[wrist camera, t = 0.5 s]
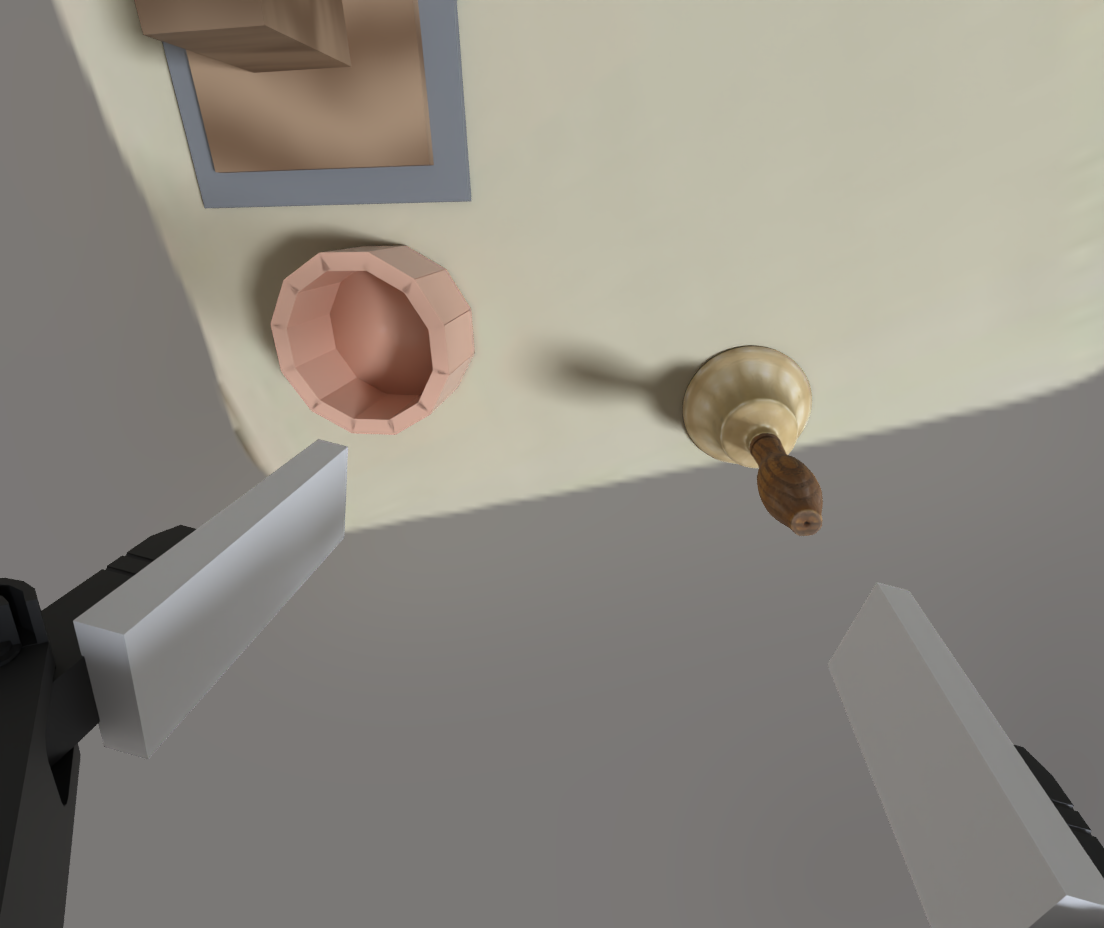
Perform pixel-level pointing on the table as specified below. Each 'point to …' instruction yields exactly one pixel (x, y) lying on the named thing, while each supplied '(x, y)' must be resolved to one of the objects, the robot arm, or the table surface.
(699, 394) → the hand bell
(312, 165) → the walnut lid
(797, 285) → the table surface
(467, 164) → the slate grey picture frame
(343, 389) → the terracotta bowl
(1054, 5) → the table surface
